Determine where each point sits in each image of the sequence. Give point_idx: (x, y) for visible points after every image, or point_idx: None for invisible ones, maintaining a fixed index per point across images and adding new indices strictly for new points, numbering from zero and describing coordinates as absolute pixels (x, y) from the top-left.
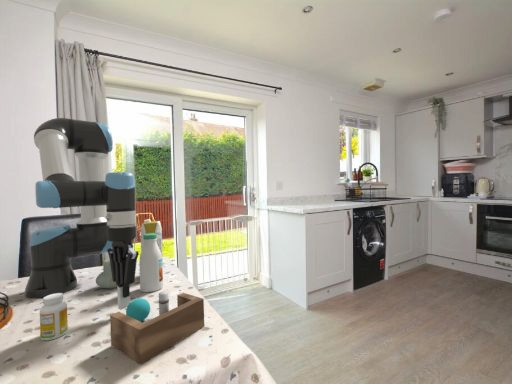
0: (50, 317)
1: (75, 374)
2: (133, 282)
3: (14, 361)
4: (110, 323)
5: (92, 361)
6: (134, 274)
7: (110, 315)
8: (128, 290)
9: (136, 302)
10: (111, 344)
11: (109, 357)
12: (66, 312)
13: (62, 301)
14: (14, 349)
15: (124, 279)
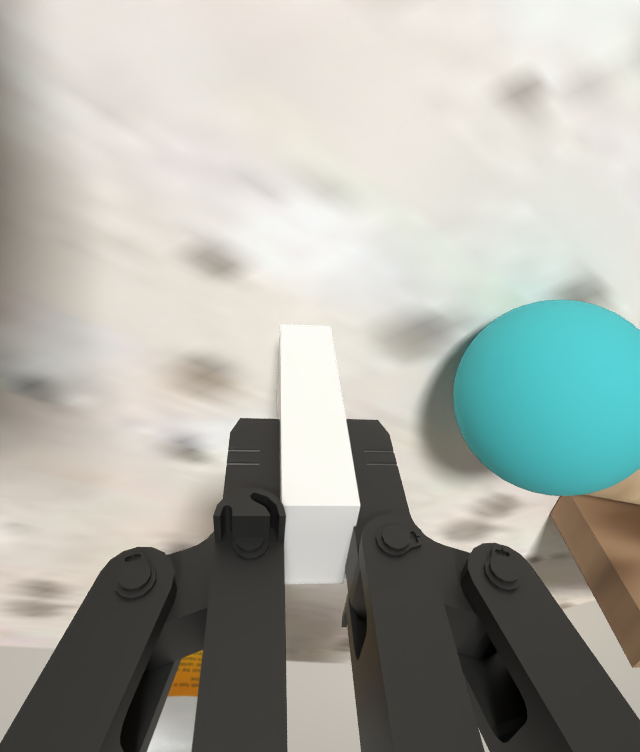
0: None
1: (556, 601)
2: (518, 564)
3: (290, 650)
4: (605, 616)
5: (556, 568)
6: (621, 710)
7: (635, 666)
8: (395, 482)
9: (611, 484)
10: (556, 519)
11: None
12: None
13: (178, 746)
14: None
15: (473, 699)
